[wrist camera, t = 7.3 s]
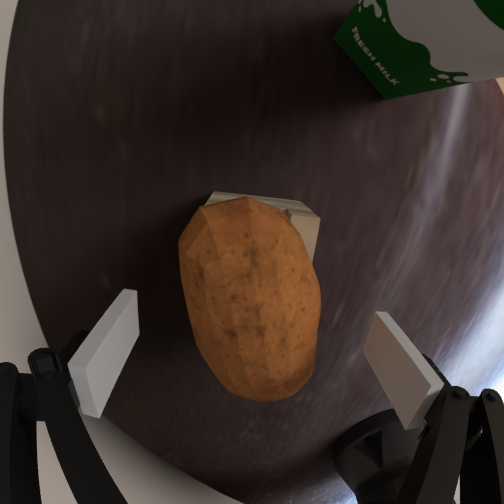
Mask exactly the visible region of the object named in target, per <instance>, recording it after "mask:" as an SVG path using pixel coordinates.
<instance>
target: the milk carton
mask: <svg viewBox="0 0 504 504" xmlns="http://www.w3.org/2000/svg"><path fill="white" fill-rule="evenodd" d="M332 39H333V40H334V41H335V42H336V43H337V44H338V45H339V46H340V47H341V48H342V49H343V51H344V52H345V53H346V54H347V55H348V56H349V57H350V58H351V59H352V61H353V62H354V63H355V64H356V65H357V66H358V67H359V69H360V70H361V71H362V72H363V73H364V75H365V76H366V77H367V78H368V79H369V81H370V82H371V83H372V84H373V86H374V87H375V88H376V89H377V91H378V92H379V93H380V94H381V96H382V97H383V98H384V100H387V99H392V98H396V97H401V96H406V95H411V94H417V93H422V92H427V91H431V90H436V89H441V88H445V87H450V86H455V85H460V84H465V83H470V82H476V81H482V80H488V79H494V78H500V77H504V0H359V1H358V3H357V4H356V5H355V6H354V7H353V9H352V10H351V12H350V13H349V15H348V16H347V17H346V19H345V20H344V22H343V23H342V25H341V26H340V28H339V29H338V31H337V33H336V34H335V35H334V37H333V38H332Z"/></svg>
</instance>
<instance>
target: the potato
mask: <svg viewBox="0 0 504 504" xmlns="http://www.w3.org/2000/svg"><path fill="white" fill-rule="evenodd" d="M178 244H179V261H180V274H181V280H182V285H183V290H184V295H185V300H186V305H187V309H188V314H189V318H190V323H191V327H192V330H193V333H194V337H195V340H196V343H197V346H198V348H199V350H200V352H201V354H202V356H203V358H204V359H205V361H206V362H207V364H208V365H209V367H210V368H211V370H212V371H213V373H214V374H215V375H216V377H217V378H218V379H219V380H220V382H221V383H222V384H223V385H224V387H225V388H227V389H228V390H229V391H230V392H231V393H233V394H236V395H239V396H242V397H245V398H248V399H251V400H254V401H275V400H279V399H283V398H286V397H290V396H291V395H293V394H295V393H296V392H297V391H298V390H299V389H300V388H301V387H302V386H303V385H304V384H305V383H306V382H307V380H308V379H309V377H310V375H311V373H312V371H313V366H314V361H315V356H316V347H317V330H318V324H319V317H320V310H321V299H320V285H319V283H318V280H317V277H316V274H315V272H314V269H313V266H312V263H311V261H310V258H309V255H308V253H307V250H306V247H305V245H304V242H303V240H302V237H301V234H300V233H299V232H298V230H297V229H296V228H295V227H294V225H293V224H292V223H291V221H290V220H289V219H288V218H287V216H286V215H285V214H284V212H283V211H281V210H280V209H279V208H276V207H273V206H271V205H268V204H266V203H263V202H260V201H258V200H255V199H252V198H249V197H247V196H243V197H239V198H234V199H230V200H225V201H221V202H216V203H212V204H208V205H203V206H199V208H198V209H197V211H196V212H195V214H194V215H193V217H192V218H191V220H190V222H189V223H188V225H187V226H186V228H185V230H184V231H183V233H182V234H181V236H180V238H179V243H178Z"/></svg>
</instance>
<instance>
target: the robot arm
mask: <svg viewBox="0 0 504 504" xmlns="http://www.w3.org/2000/svg"><path fill="white" fill-rule="evenodd" d="M138 336H139V322H138V304H137V291H136V290H129V289H123V290H122V292H121V293H120V294H119V295H118V297H117V298H116V299H115V301H114V302H113V303H112V304H111V306H110V307H109V308H108V310H107V311H106V312H105V313H104V315H103V316H102V317H101V319H100V320H99V321H98V323H97V324H96V325H95V327H94V328H93V329H92V331H91V332H89V331H84V330H82V331H80V332H78V333H77V334H75V335H74V336H73V337H72V338H71V339H70V341H69V343H67V345H66V346H65V348H63V350H62V351H61V352H60V354H59V355H58V354H57V352H56V351H55V350H53V349H50V348H39V349H36V350H34V351H33V352H31V353H30V355H29V356H28V364H29V367H30V370H31V372H32V374H27V373H19V372H18V369H17V367H16V366H15V365H14V364H12V363H9V362H3V363H0V504H42V502H41V495H40V486H39V477H38V462H37V435H36V434H37V433H36V423H37V421H45V423H46V427H47V430H48V433H49V435H50V439H51V442H52V445H53V447H54V450H55V453H56V455H57V458H58V461H59V463H60V466H61V468H62V470H63V473H64V475H65V477H66V480H67V482H68V484H69V486H70V489H71V491H72V493H73V495H74V497H75V499H76V501H77V503H78V504H128V503H127V501H126V500H125V498H124V497H123V495H122V494H121V492H120V491H119V489H118V487H117V486H116V484H115V482H114V481H113V479H112V477H111V476H110V474H109V472H108V470H107V469H106V467H105V465H104V463H103V461H102V459H101V458H100V456H99V454H98V452H97V450H96V448H95V446H94V444H93V442H92V440H91V438H90V436H89V434H88V432H87V430H86V427H85V425H84V423H83V421H82V419H81V416H80V414H79V412H78V407H79V406H80V407H81V409H82V412H83V414H86V415H89V416H93V417H97V418H100V416H101V413H102V411H103V409H104V407H105V404H106V402H107V400H108V398H109V396H110V394H111V391H112V389H113V387H114V385H115V383H116V381H117V379H118V376H119V374H120V372H121V370H122V368H123V366H124V364H125V362H126V360H127V358H128V356H129V354H130V352H131V350H132V348H133V346H134V344H135V342H136V340H137V338H138ZM362 352H363V353H364V355H365V357H366V359H367V360H368V362H369V364H370V366H371V367H372V369H373V371H374V373H375V375H376V376H377V378H378V380H379V382H380V384H381V386H382V387H383V389H384V391H385V393H386V395H387V397H388V398H389V400H390V402H391V404H392V406H393V408H394V409H392V410H388V411H385V412H382V413H380V414H377V415H375V416H373V417H370V418H368V419H366V420H364V421H363V422H361V423H359V424H358V425H356V426H354V427H353V428H352V429H350V430H349V431H348V432H346V433H345V434H344V435H343V436H342V437H341V438H340V439H339V440H338V441H337V442H336V444H335V445H334V447H333V449H332V453H331V456H332V460H333V464H334V467H335V469H336V471H337V472H338V473H339V475H340V476H341V477H342V479H343V480H344V481H345V482H346V484H347V485H348V486H349V487H350V489H351V490H352V491H353V492H354V494H355V496H356V499H357V502H358V504H456V502H455V500H454V495H455V491H456V486H457V483H458V478H459V474H460V504H504V404H503V401H502V398H501V396H500V395H499V394H498V393H497V391H495V390H493V389H484V390H483V391H482V392H481V394H480V396H479V397H478V396H470V395H469V393H468V392H467V391H466V390H465V389H464V388H462V387H459V386H451V384H450V383H449V382H448V380H447V379H446V378H445V377H444V375H443V374H442V373H441V371H439V369H438V368H437V366H435V364H434V363H433V361H432V360H431V359H430V358H428V357H427V356H426V355H424V354H421V353H420V352H419V351H418V350H417V348H416V347H415V346H414V345H413V343H412V342H411V341H410V340H409V338H408V337H407V336H406V335H405V334H404V332H403V331H402V330H401V329H400V327H399V326H398V325H397V324H396V323H395V321H394V320H393V319H392V318H391V317H390V315H389V314H388V313H387V312H376V311H375V314H374V317H373V320H372V324H371V327H370V330H369V333H368V336H367V339H366V341H365V344H364V347H363V350H362ZM481 431H482V433H481Z"/></svg>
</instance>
